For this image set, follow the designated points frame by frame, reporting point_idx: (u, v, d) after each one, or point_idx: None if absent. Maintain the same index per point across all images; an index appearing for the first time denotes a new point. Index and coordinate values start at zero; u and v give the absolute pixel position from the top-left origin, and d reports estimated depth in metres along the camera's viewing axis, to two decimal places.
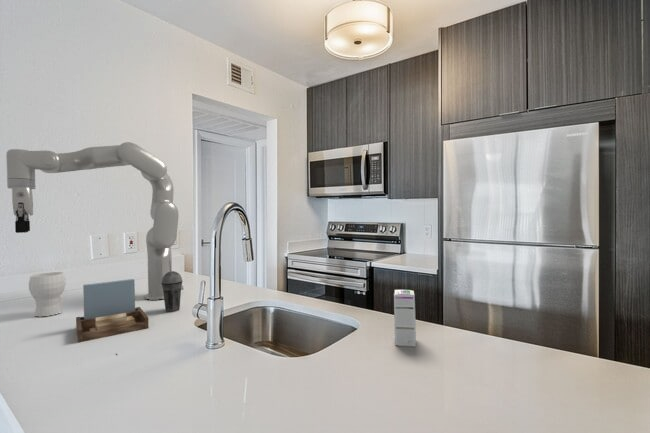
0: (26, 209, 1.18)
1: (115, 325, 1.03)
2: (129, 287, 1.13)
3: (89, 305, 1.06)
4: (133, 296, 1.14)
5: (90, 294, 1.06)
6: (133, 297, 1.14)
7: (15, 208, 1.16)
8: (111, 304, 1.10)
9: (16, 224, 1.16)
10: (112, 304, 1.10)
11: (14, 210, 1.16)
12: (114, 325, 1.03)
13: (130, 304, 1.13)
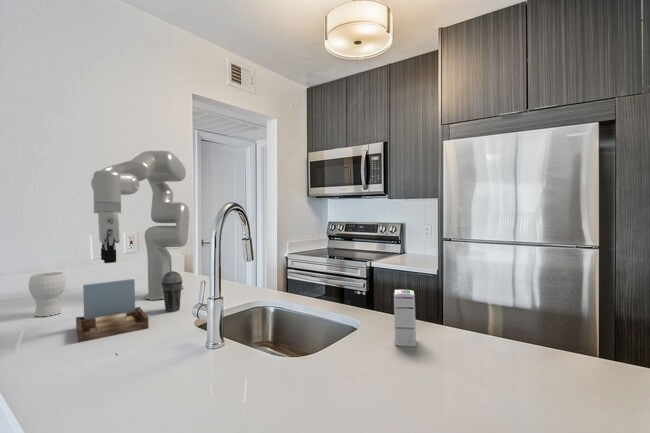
0: (115, 237, 1.07)
1: (115, 325, 1.03)
2: (129, 287, 1.13)
3: (89, 305, 1.06)
4: (133, 296, 1.14)
5: (90, 294, 1.06)
6: (133, 297, 1.14)
7: (104, 236, 1.05)
8: (111, 304, 1.10)
9: (105, 254, 1.05)
10: (112, 304, 1.10)
11: (103, 238, 1.05)
12: (114, 325, 1.03)
13: (130, 304, 1.13)
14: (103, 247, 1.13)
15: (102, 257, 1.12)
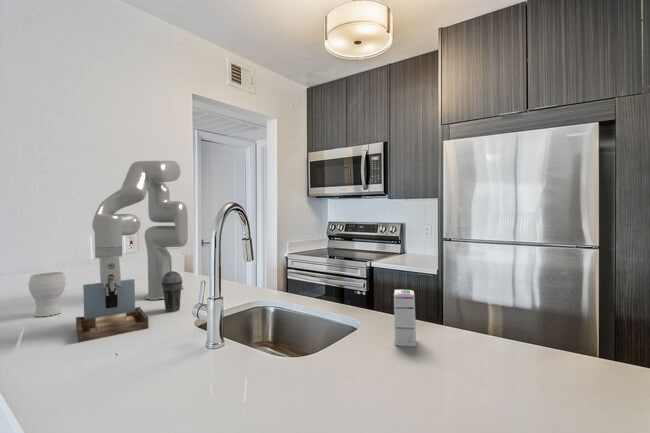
0: (116, 281, 1.07)
1: (115, 325, 1.03)
2: (129, 287, 1.13)
3: (89, 305, 1.06)
4: (133, 296, 1.14)
5: (90, 294, 1.06)
6: (133, 297, 1.14)
7: (105, 281, 1.05)
8: None
9: (106, 299, 1.05)
10: None
11: (104, 284, 1.05)
12: (114, 325, 1.03)
13: (130, 304, 1.13)
14: None
15: None
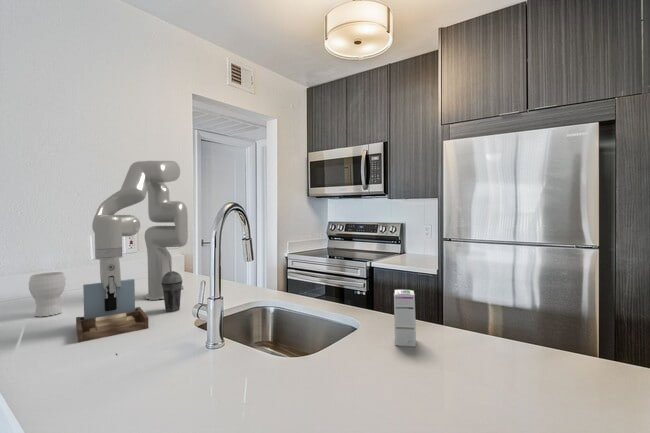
0: (116, 283, 1.07)
1: (115, 325, 1.03)
2: (129, 287, 1.13)
3: (89, 305, 1.06)
4: (133, 296, 1.14)
5: (90, 294, 1.06)
6: (133, 297, 1.14)
7: (105, 288, 1.06)
8: None
9: (106, 302, 1.08)
10: None
11: (104, 285, 1.05)
12: (114, 325, 1.03)
13: (130, 304, 1.13)
14: None
15: None
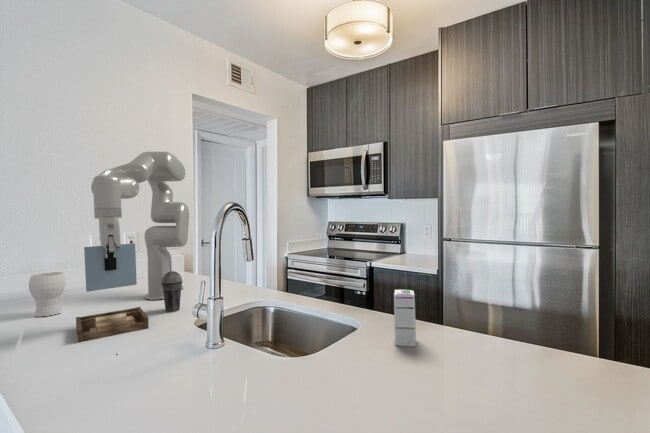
0: (116, 242, 1.07)
1: (115, 325, 1.03)
2: (130, 251, 1.13)
3: (90, 267, 1.06)
4: (134, 260, 1.14)
5: (91, 256, 1.07)
6: (134, 261, 1.14)
7: None
8: None
9: (105, 262, 1.08)
10: None
11: (104, 244, 1.05)
12: (114, 325, 1.03)
13: (131, 268, 1.14)
14: None
15: None
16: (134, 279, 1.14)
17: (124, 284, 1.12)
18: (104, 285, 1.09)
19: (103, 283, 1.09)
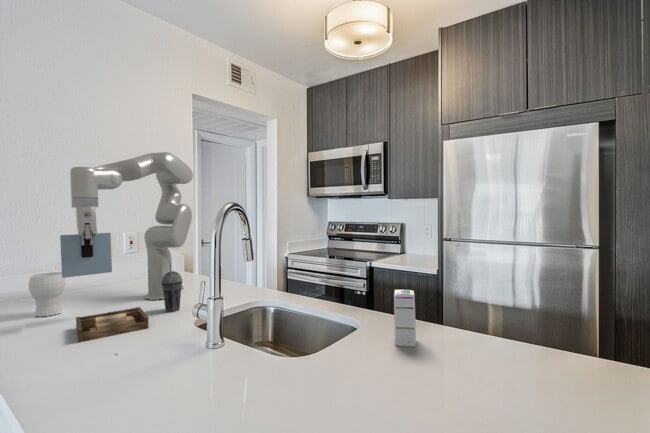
0: (92, 230, 1.12)
1: (115, 325, 1.03)
2: (105, 240, 1.18)
3: (66, 254, 1.11)
4: (109, 248, 1.19)
5: (67, 243, 1.12)
6: (109, 249, 1.19)
7: (82, 234, 1.11)
8: None
9: (82, 249, 1.14)
10: None
11: (81, 231, 1.11)
12: (114, 325, 1.03)
13: (106, 256, 1.19)
14: None
15: None
16: (109, 267, 1.19)
17: (99, 271, 1.17)
18: (79, 272, 1.14)
19: (79, 270, 1.14)
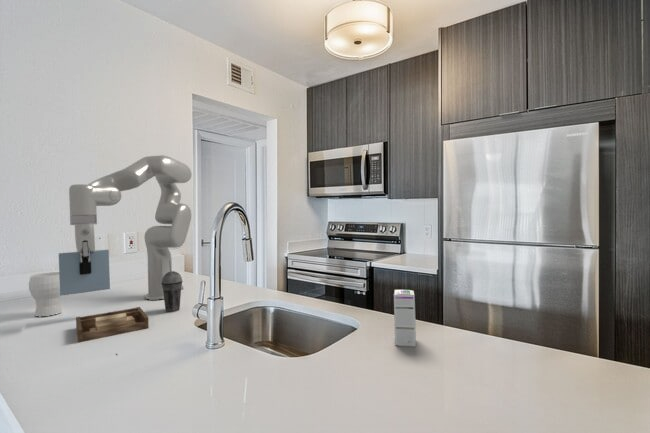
0: (90, 247, 1.13)
1: (115, 325, 1.03)
2: (103, 257, 1.19)
3: (64, 272, 1.12)
4: (107, 265, 1.20)
5: (65, 261, 1.12)
6: (107, 266, 1.20)
7: (80, 252, 1.12)
8: None
9: (80, 266, 1.14)
10: None
11: (79, 249, 1.11)
12: (114, 325, 1.03)
13: (105, 273, 1.19)
14: None
15: None
16: (107, 284, 1.20)
17: (97, 288, 1.18)
18: (78, 289, 1.14)
19: (77, 287, 1.14)
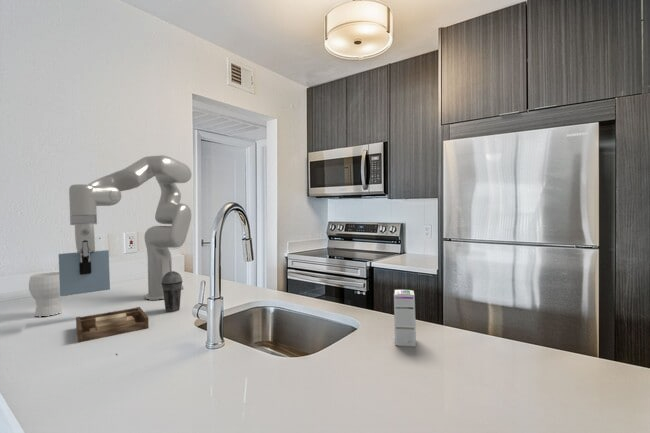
0: (90, 247, 1.13)
1: (115, 325, 1.03)
2: (103, 257, 1.19)
3: (64, 273, 1.12)
4: (107, 266, 1.20)
5: (65, 262, 1.12)
6: (107, 267, 1.20)
7: (80, 252, 1.12)
8: None
9: (80, 266, 1.14)
10: None
11: (79, 249, 1.11)
12: (114, 325, 1.03)
13: (105, 273, 1.19)
14: None
15: None
16: (107, 284, 1.20)
17: (97, 289, 1.18)
18: (78, 290, 1.14)
19: (77, 288, 1.14)
